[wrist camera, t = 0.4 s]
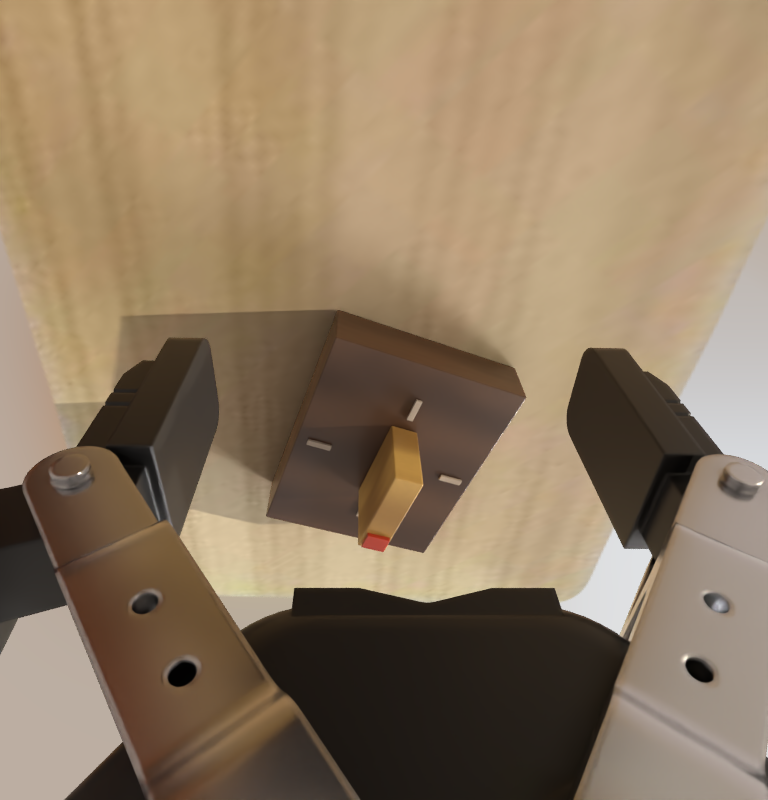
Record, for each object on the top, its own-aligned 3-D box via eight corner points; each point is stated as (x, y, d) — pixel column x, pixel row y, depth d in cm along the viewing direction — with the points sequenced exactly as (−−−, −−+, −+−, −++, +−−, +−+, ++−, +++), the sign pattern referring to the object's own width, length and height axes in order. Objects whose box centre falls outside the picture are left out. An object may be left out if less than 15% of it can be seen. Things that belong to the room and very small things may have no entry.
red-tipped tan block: (391, 424, 32) (395, 481, 28) (417, 432, 32) (424, 488, 28) (358, 490, 35) (357, 548, 31) (382, 496, 35) (384, 555, 31)
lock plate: (337, 309, 31) (335, 338, 28) (515, 367, 33) (527, 399, 31) (271, 483, 38) (265, 519, 36) (420, 519, 41) (424, 555, 38)
